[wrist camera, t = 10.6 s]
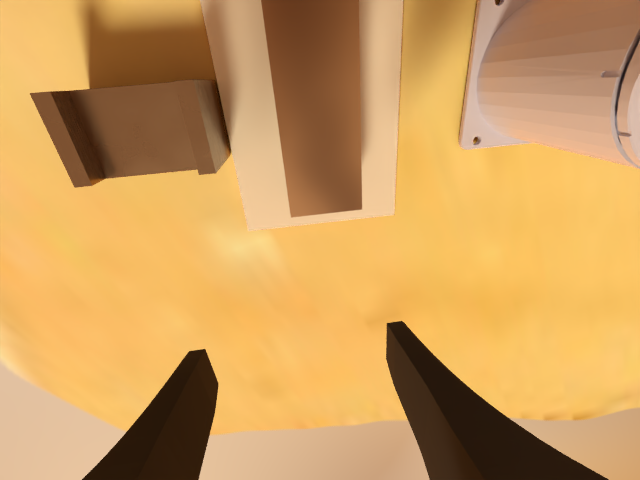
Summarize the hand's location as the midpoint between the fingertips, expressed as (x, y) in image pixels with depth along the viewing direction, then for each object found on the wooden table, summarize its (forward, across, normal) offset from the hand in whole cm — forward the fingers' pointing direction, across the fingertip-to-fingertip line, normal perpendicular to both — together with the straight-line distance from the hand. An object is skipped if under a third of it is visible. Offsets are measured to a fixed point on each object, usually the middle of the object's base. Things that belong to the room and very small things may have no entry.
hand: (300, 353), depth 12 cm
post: (+10, +6, -8) cm, 15 cm away
